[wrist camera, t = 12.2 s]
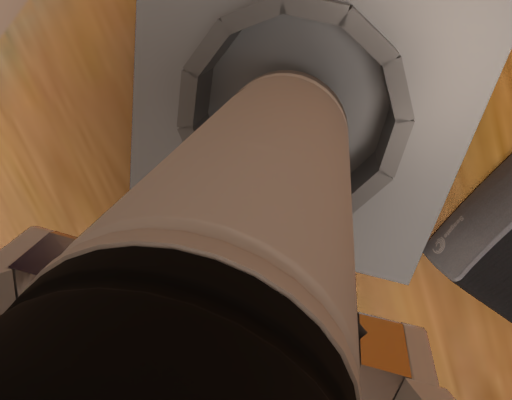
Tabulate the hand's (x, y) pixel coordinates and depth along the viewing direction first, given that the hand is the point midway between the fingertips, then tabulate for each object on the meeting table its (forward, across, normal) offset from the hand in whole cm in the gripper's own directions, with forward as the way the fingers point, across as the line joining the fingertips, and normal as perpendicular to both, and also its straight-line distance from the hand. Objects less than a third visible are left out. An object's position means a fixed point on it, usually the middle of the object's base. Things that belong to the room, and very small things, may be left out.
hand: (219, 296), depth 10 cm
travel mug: (+14, 0, 0) cm, 14 cm away
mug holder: (+18, 0, 0) cm, 18 cm away
